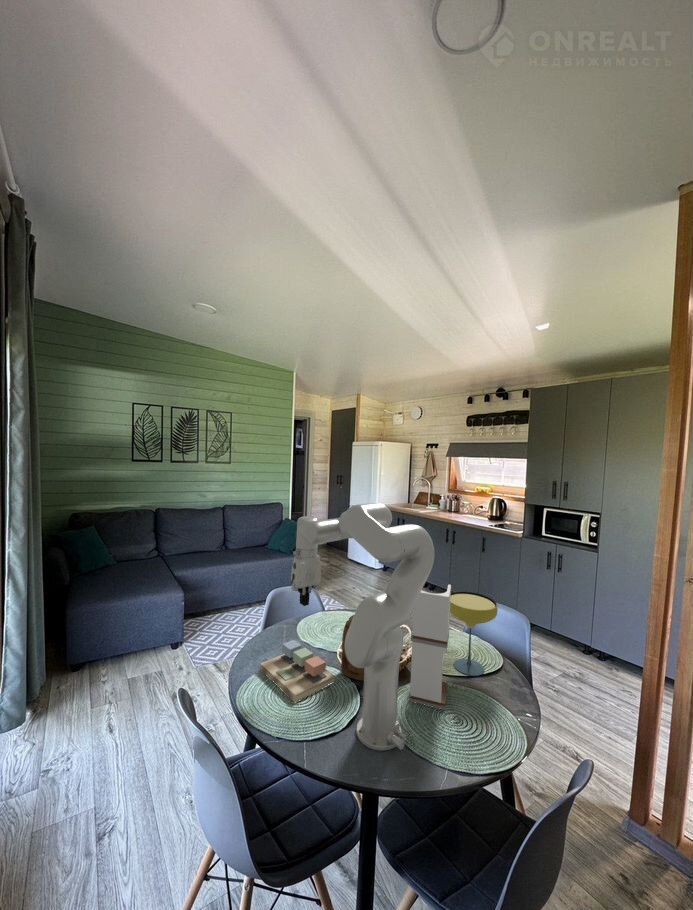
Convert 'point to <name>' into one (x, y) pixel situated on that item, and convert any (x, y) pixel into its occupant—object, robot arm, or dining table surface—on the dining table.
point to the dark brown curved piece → (345, 664)
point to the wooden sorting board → (294, 677)
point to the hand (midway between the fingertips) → (304, 604)
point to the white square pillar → (430, 648)
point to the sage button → (302, 656)
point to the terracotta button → (315, 666)
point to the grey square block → (290, 648)
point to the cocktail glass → (471, 622)
